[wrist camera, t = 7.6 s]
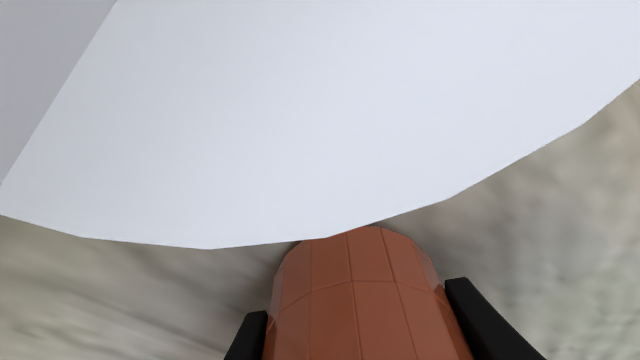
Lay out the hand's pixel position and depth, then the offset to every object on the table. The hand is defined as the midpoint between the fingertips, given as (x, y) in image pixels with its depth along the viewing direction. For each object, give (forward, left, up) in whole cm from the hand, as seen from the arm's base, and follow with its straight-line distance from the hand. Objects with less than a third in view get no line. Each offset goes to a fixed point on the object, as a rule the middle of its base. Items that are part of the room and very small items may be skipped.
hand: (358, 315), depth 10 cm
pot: (0, 0, -2) cm, 2 cm away
